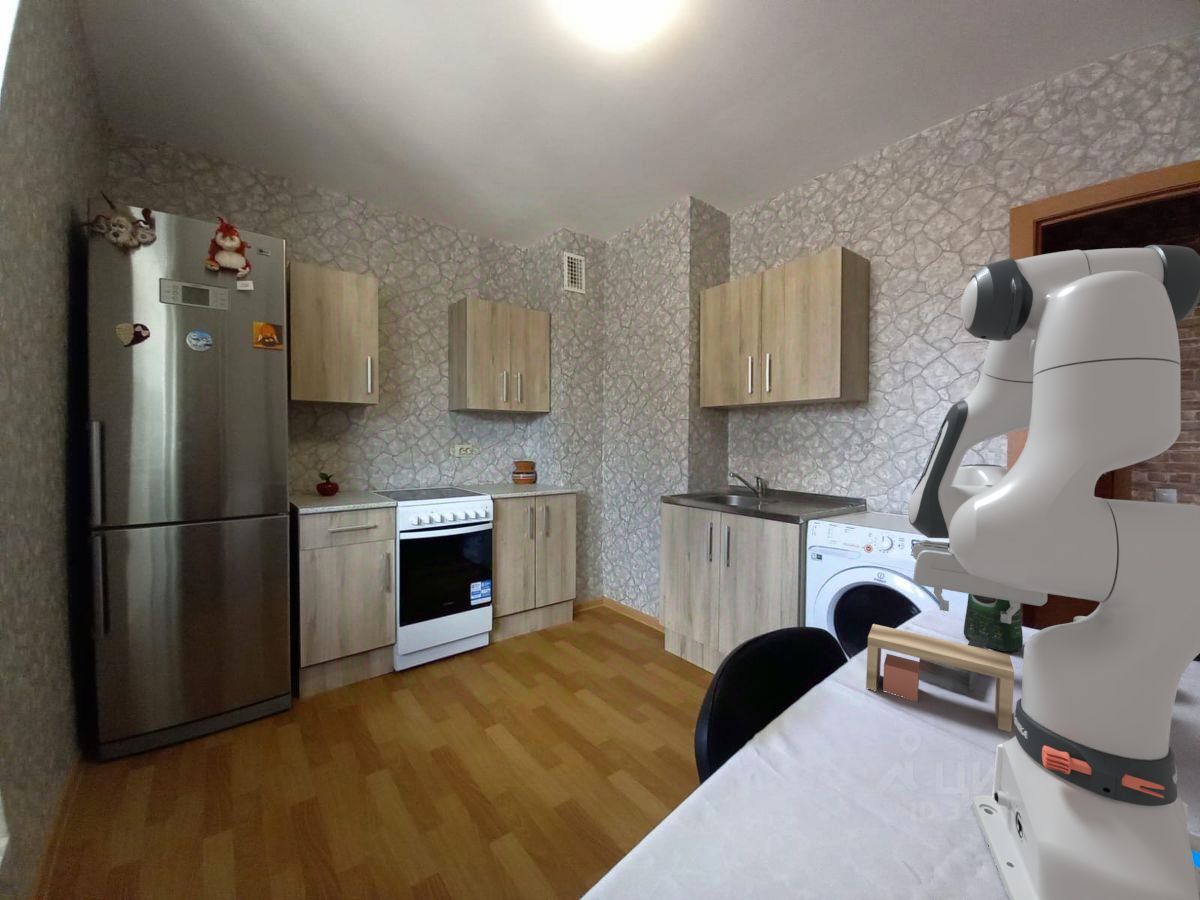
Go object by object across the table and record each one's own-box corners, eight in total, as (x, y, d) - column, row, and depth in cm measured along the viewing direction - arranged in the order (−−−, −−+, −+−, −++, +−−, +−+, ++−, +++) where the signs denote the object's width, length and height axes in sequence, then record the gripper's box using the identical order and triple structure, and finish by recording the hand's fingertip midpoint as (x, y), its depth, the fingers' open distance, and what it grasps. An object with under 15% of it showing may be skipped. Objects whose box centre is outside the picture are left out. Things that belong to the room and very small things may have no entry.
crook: (968, 696, 81) (969, 674, 81) (918, 679, 86) (919, 658, 86) (987, 656, 96) (988, 637, 95) (943, 644, 101) (944, 626, 101)
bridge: (1011, 732, 71) (1014, 672, 71) (866, 688, 83) (868, 636, 82) (1006, 710, 77) (1009, 654, 76) (871, 672, 89) (873, 623, 88)
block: (917, 702, 79) (918, 673, 79) (882, 691, 82) (883, 664, 82) (918, 689, 83) (919, 661, 83) (885, 679, 86) (886, 653, 86)
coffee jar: (1029, 649, 99) (1033, 563, 98) (1007, 656, 96) (1012, 567, 95) (977, 631, 108) (981, 552, 107) (956, 637, 105) (960, 555, 104)
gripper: (912, 541, 94) (909, 608, 95) (1051, 559, 82) (1047, 635, 83) (914, 535, 99) (911, 598, 100) (1045, 551, 87) (1041, 623, 88)
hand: (973, 615), depth 91 cm, fingers open, 8 cm apart
